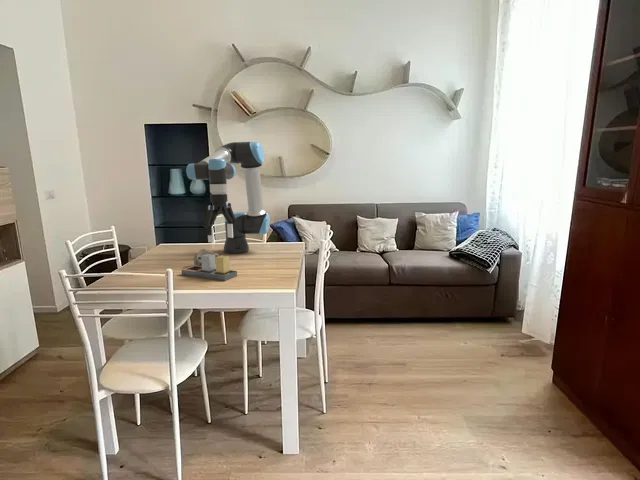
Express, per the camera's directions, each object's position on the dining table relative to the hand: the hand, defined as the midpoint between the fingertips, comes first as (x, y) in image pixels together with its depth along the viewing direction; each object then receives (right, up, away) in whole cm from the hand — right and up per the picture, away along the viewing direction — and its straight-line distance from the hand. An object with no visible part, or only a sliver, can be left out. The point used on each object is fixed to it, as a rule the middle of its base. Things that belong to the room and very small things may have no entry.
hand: (221, 239), depth 193 cm
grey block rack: (-7, -17, +7) cm, 20 cm away
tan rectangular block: (0, -18, +4) cm, 18 cm away
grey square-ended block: (-7, -17, +7) cm, 20 cm away
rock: (-14, -14, +26) cm, 32 cm away
